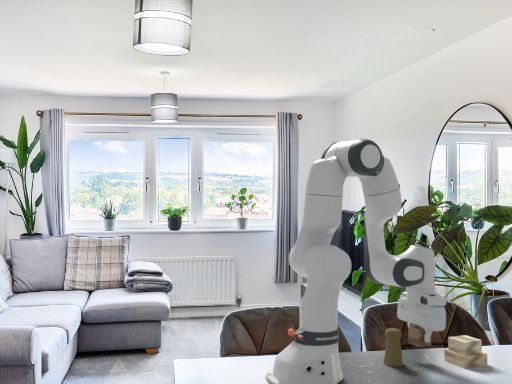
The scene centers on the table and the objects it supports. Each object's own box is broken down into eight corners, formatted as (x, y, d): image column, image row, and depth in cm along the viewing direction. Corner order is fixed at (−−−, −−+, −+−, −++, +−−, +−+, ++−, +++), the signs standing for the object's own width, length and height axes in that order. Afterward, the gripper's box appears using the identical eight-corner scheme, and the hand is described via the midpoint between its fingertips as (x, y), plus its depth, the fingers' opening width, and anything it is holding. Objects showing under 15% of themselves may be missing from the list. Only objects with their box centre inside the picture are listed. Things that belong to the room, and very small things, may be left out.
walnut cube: (417, 346, 173) (418, 330, 173) (408, 343, 177) (408, 327, 178) (430, 345, 175) (431, 330, 175) (420, 342, 179) (421, 326, 179)
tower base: (464, 369, 169) (464, 356, 169) (444, 361, 177) (444, 349, 178) (487, 366, 172) (487, 353, 172) (466, 358, 181) (466, 346, 181)
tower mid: (464, 355, 170) (464, 342, 170) (448, 349, 177) (448, 337, 177) (481, 352, 173) (481, 340, 173) (465, 347, 180) (465, 335, 180)
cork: (405, 366, 171) (405, 331, 171) (385, 366, 171) (385, 331, 171) (400, 360, 177) (400, 326, 177) (381, 360, 177) (381, 326, 177)
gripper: (393, 291, 185) (392, 332, 185) (433, 301, 166) (432, 347, 166) (408, 290, 187) (407, 331, 187) (450, 301, 168) (449, 346, 168)
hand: (419, 339), depth 176 cm, fingers closed on walnut cube, 5 cm apart
